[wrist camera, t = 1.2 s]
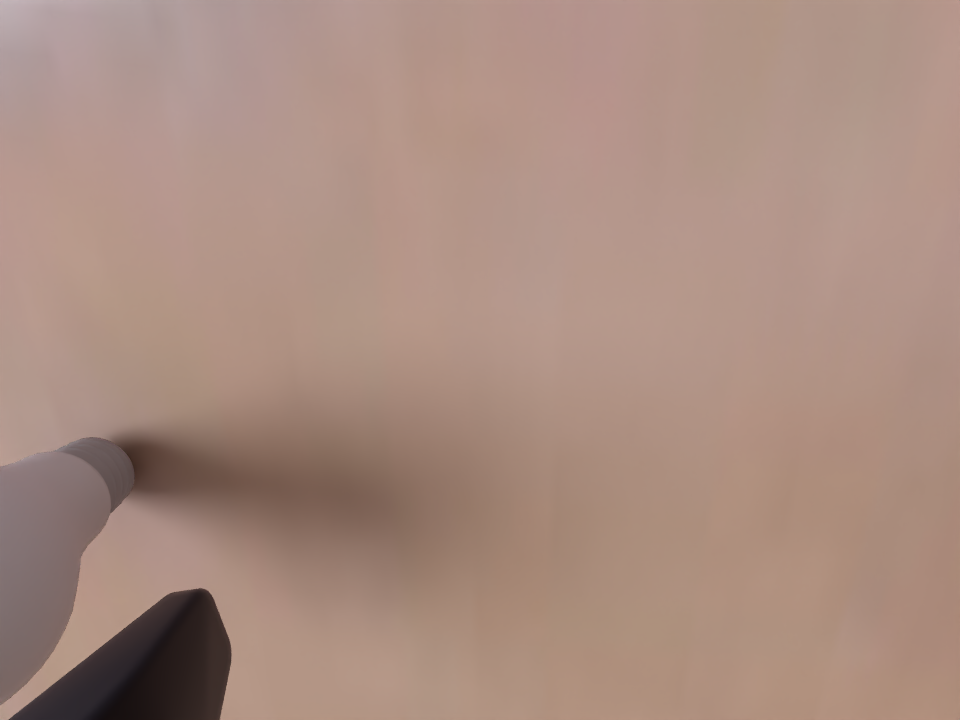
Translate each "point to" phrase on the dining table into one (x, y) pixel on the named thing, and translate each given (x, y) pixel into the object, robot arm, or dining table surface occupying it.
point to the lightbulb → (50, 545)
